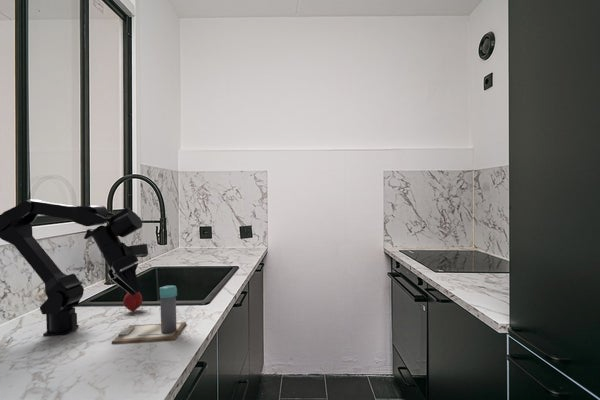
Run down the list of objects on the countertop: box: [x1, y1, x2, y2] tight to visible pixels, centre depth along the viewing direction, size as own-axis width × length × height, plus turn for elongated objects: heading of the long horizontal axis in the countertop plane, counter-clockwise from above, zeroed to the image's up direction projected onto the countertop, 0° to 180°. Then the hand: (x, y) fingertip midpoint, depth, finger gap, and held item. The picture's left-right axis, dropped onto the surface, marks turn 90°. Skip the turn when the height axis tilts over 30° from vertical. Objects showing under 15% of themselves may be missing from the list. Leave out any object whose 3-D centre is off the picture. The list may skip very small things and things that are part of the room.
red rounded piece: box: [122, 291, 143, 312], centre depth 119 cm, size 6×6×8 cm
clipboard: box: [111, 321, 187, 345], centre depth 98 cm, size 16×12×1 cm
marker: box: [159, 285, 178, 334], centre depth 98 cm, size 4×4×12 cm
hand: (136, 293), depth 101 cm, fingers open, 9 cm apart
